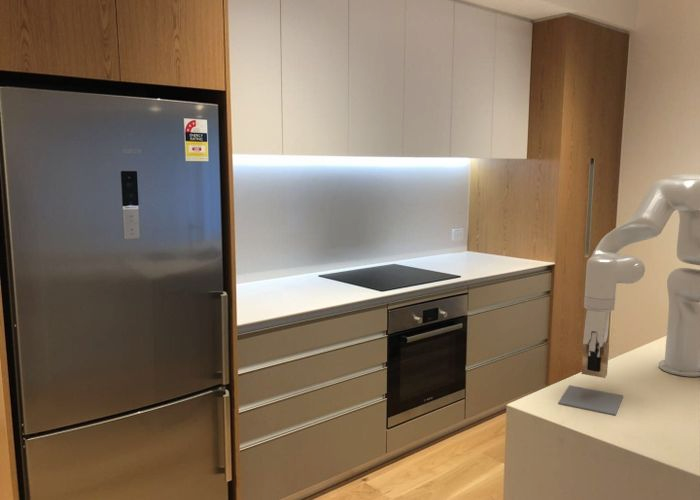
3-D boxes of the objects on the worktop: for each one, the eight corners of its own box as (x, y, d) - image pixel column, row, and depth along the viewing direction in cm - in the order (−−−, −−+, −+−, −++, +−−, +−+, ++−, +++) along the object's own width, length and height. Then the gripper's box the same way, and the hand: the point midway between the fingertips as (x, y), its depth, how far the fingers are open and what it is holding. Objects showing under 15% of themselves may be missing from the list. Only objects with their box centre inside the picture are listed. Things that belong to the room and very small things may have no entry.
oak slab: (583, 370, 163) (585, 339, 161) (606, 374, 159) (609, 342, 158) (581, 373, 160) (583, 342, 159) (605, 378, 157) (607, 345, 156)
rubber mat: (569, 386, 167) (569, 385, 167) (623, 396, 160) (623, 395, 160) (558, 403, 155) (558, 402, 155) (615, 415, 148) (615, 414, 148)
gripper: (590, 295, 166) (585, 357, 168) (578, 307, 152) (574, 375, 155) (618, 298, 162) (614, 362, 164) (609, 311, 148) (604, 380, 151)
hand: (594, 368), depth 159 cm, fingers closed on oak slab, 3 cm apart
